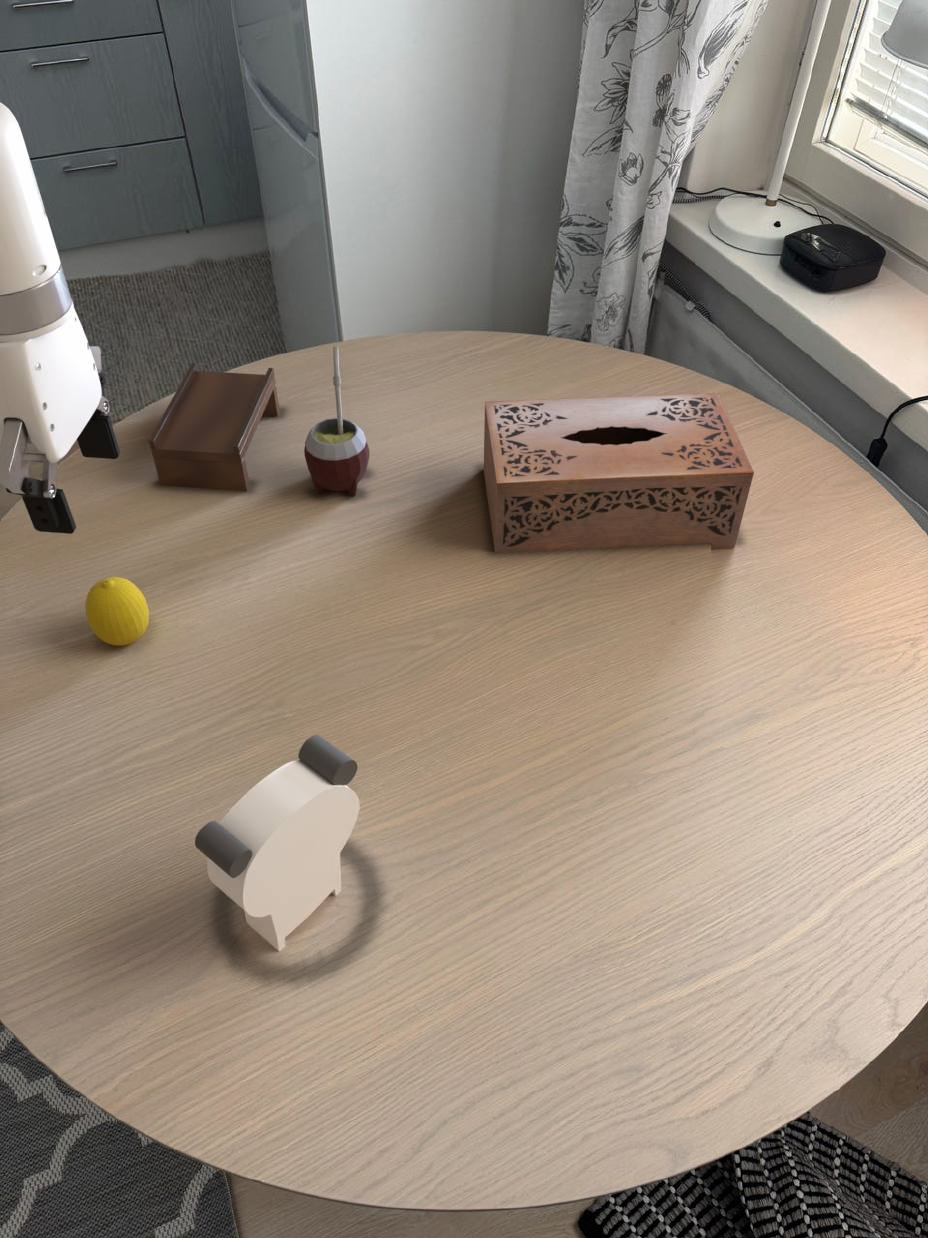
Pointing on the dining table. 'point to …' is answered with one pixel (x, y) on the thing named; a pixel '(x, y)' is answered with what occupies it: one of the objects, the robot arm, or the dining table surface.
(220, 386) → the shelf
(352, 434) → the mate gourd
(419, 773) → the dining table surface
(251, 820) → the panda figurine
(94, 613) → the lemon
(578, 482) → the tissue box cover
